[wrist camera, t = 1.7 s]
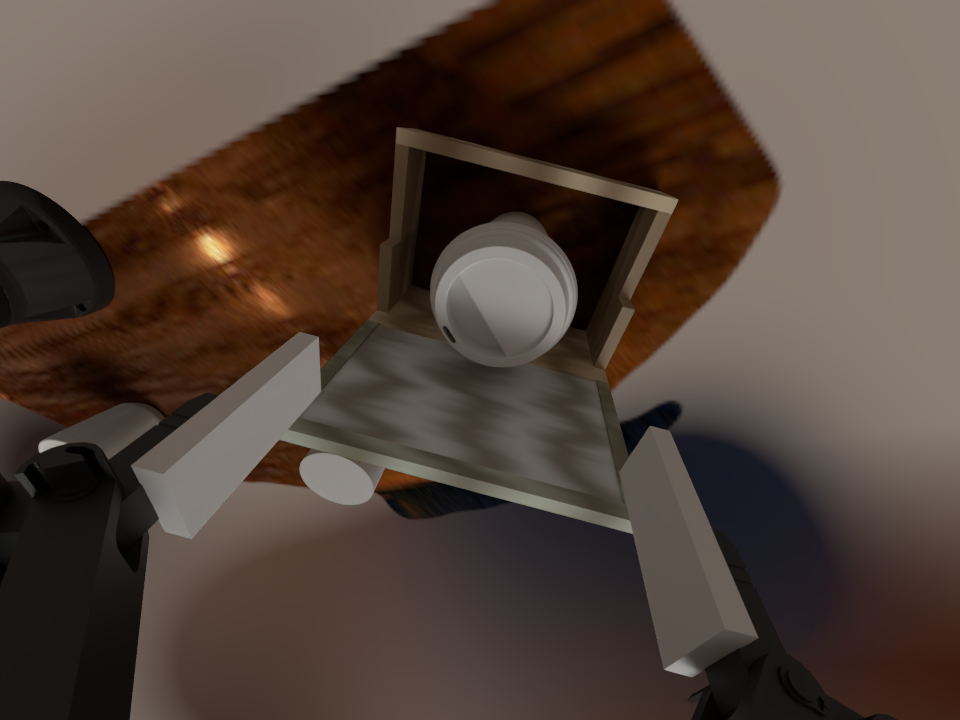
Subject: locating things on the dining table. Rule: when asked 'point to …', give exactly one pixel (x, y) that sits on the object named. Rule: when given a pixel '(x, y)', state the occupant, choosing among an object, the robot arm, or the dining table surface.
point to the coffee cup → (503, 291)
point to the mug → (109, 428)
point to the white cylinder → (339, 477)
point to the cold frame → (485, 368)
